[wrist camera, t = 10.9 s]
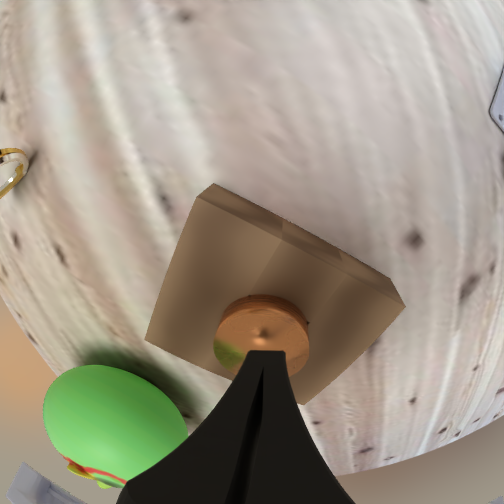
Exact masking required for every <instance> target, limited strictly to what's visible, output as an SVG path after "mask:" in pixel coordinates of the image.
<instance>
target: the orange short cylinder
mask: <svg viewBox="0 0 504 504" xmlns="http://www.w3.org/2000/svg"><path fill="white" fill-rule="evenodd" d="M213 350H214V353H215V356H216V358H217V360H218V361H219V362H220V364H221V365H222V366H223V367H225V368H226V369H227V370H228V371H230V372H231V373H233V374H235V375H237V373H238V371H239V369H240V368H241V366H242V364H243V362H244V360H245V357H246V355H247V353H248V351H250V350H278V351H284V352H286V365H287V371H288V375H289V377H290V376H292V375H294V374H295V373H297V372H298V371H299V370H301V369H302V368H303V366H304V365H305V364H306V362H307V360H308V357H309V336H308V324H307V320H306V318H305V316H304V314H303V313H302V311H301V310H300V309H299V308H298V307H297V306H296V305H294V304H293V303H291V302H290V301H288V300H286V299H283V298H281V297H278V296H274V295H267V294H255V295H248V296H245V297H242V298H240V299H237V300H236V301H234V302H232V303H231V304H230V305H229V306H228V307H227V308H226V309H225V311H224V312H223V314H222V316H221V319H220V322H219V325H218V328H217V331H216V334H215V337H214V341H213Z"/></svg>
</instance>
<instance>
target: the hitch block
mask: <svg viewBox="0 0 504 504" xmlns="http://www.w3.org/2000/svg"><path fill="white" fill-rule="evenodd" d="M255 294H267V295H274V296H278V297H281V298H283V299H286V300H288V301H290V302H291V303H293V304H294V305H296V306H297V307H298V308H299V309H300V310H301V311H302V313H303V314H304V316H305V318H306V320H307V324H308V336H309V357H308V360H307V362H306V364H305V365H304V366H303V368H302V369H301V370H299V371H298V372H297V373H295V374H294V375H292V376H290V377H289V380H290V383H291V387H292V390H293V393H294V396H295V400H296V402H297V403H298V404H301V405H305V404H306V403H307V402H308V401H310V400H311V399H312V398H313V397H315V396H316V395H317V394H318V393H319V392H321V391H322V390H323V389H324V388H325V387H326V386H328V385H329V384H330V383H331V382H332V381H333V380H334V379H336V378H337V377H338V376H339V375H340V374H341V373H342V372H343V371H344V370H346V369H347V368H348V367H349V366H350V365H351V364H352V363H353V362H354V361H355V360H356V359H357V358H358V357H359V356H360V355H361V354H362V353H363V352H364V351H365V350H366V349H367V348H368V347H369V346H370V345H371V344H372V343H373V342H374V341H375V340H376V339H377V338H378V337H379V336H380V335H381V334H382V333H383V332H384V331H385V330H386V328H387V327H388V326H389V325H390V324H391V323H392V322H393V321H394V320H395V319H396V317H397V316H398V315H399V314H400V313H401V312H402V311H403V309H404V308H405V307H406V306H405V305H404V303H403V301H402V299H401V297H400V295H399V294H398V292H397V290H396V288H395V286H394V285H393V283H392V281H391V279H390V278H388V277H386V276H385V275H383V274H381V273H380V272H378V271H376V270H375V269H373V268H371V267H370V266H368V265H366V264H364V263H363V262H361V261H359V260H357V259H356V258H354V257H352V256H350V255H349V254H347V253H345V252H343V251H342V250H340V249H338V248H336V247H335V246H333V245H331V244H329V243H327V242H326V241H324V240H322V239H320V238H318V237H317V236H315V235H313V234H311V233H309V232H307V231H306V230H304V229H302V228H300V227H298V226H296V225H294V224H293V223H291V222H289V221H287V220H285V219H283V218H281V217H279V216H277V215H275V214H274V213H272V212H270V211H268V210H266V209H264V208H262V207H260V206H258V205H256V204H254V203H252V202H250V201H248V200H246V199H244V198H242V197H240V196H238V195H236V194H234V193H232V192H230V191H228V190H226V189H224V188H222V187H220V186H218V185H216V184H214V183H213V184H212V185H211V186H209V187H208V188H207V189H206V190H204V191H203V192H202V193H201V194H199V195H198V196H197V197H196V199H195V202H194V204H193V206H192V209H191V211H190V214H189V216H188V219H187V221H186V224H185V226H184V229H183V231H182V234H181V236H180V239H179V241H178V244H177V246H176V249H175V252H174V254H173V257H172V260H171V262H170V265H169V268H168V271H167V273H166V276H165V279H164V282H163V285H162V287H161V290H160V293H159V296H158V299H157V302H156V305H155V308H154V311H153V314H152V317H151V320H150V324H149V327H148V330H147V333H146V336H145V340H146V341H148V342H150V343H151V344H153V345H155V346H157V347H159V348H161V349H163V350H165V351H167V352H169V353H171V354H173V355H175V356H177V357H179V358H181V359H184V360H186V361H188V362H190V363H192V364H194V365H197V366H199V367H201V368H203V369H206V370H208V371H210V372H213V373H215V374H217V375H220V376H222V377H225V378H227V379H229V380H232V381H233V380H234V378H235V377H236V375H235V374H233V373H231V372H230V371H228V370H227V369H226V368H225V367H223V366H222V365H221V364H220V362H219V361H218V360H217V358H216V356H215V353H214V350H213V341H214V337H215V334H216V331H217V328H218V325H219V322H220V319H221V316H222V314H223V312H224V311H225V309H226V308H227V307H228V306H229V305H230V304H231V303H232V302H234V301H236V300H237V299H240V298H242V297H245V296H248V295H255Z"/></svg>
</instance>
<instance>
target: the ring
mask: <svg viewBox="0 0 504 504" xmlns="http://www.w3.org/2000/svg"><path fill="white" fill-rule="evenodd" d="M14 161H18V162H21V163H20V166H18V167H17V168H16V169H15V171H16V172H15V173H14V175H13V176H12V177H11V178H10V179H9V180H8V181H7V182H6V183H5V184H4V185H2V186H1V187H0V199H1V198H2V197H3V196H4V195H5V194H6V193H8V192H9V191H10V190H11V189H12V188H13V187H14V186H15V185H16V184H17V183H18V182H19V180H20V179H21V178H22V177H23V176H25V175H26V173H27V169H28V166H29V162H28V159H27V156H26V154H25V152H24V151H22V150H20V149H17V148H6V149H1V150H0V166H2V165H4V164H7V163H9V162H14Z"/></svg>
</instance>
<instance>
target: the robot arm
mask: <svg viewBox="0 0 504 504" xmlns="http://www.w3.org/2000/svg"><path fill="white" fill-rule="evenodd" d="M490 114H491V116H492V118H493V119H494V120H495V122H496V123H497V124H498V125H499V127H500V128H501V129H502V130H503V132H504V69H503V73H502V76H501V79H500V83H499V86H498V89H497V92H496V95H495V97H494V100H493V103H492V106H491V108H490ZM499 117H500V120H499ZM6 497H7V499H9V500H10V501H11V502H12V503H13V504H87V503H85V502H83V501H81V500H80V499H78V498H76V497H75V496H73V495H71V494H70V493H69V492H68V491H66V490H64V489H63V488H61V487H60V486H58V485H56V484H55V483H53V482H52V481H50V480H49V479H47V478H45V477H44V476H42V475H41V474H40V473H38V472H37V471H36V470H34V469H33V468H31V467H30V466H29V465H27V464H26V463H25V462H22V464H21V466H20V468H19V470H18V472H17V473H16V475H15V477H14V479H13V481H12V483H11V485H10V487H9V489H8V492H7V494H6ZM116 504H355V503H354V501H353V500H352V499H351V498H350V497H349V495H348V494H347V493H346V492H345V491H344V489H343V488H342V486H341V485H340V484H339V483H338V481H337V479H336V478H335V476H334V475H333V474H332V472H331V470H330V469H329V467H328V466H327V464H326V462H325V461H324V459H323V458H322V456H321V454H320V453H319V451H318V449H317V447H316V445H315V443H314V441H313V440H312V438H311V436H310V433H309V431H308V429H307V427H306V425H305V423H304V420H303V418H302V415H301V413H300V410H299V408H298V405H297V402H296V400H295V396H294V393H293V390H292V387H291V383H290V380H289V375H288V371H287V365H286V352H284V351H278V350H250V351H248V353H247V355H246V357H245V360H244V362H243V364H242V366H241V368H240V369H239V371H238V373H237V375H236V377H235V378H234V380H233V381H232V383H231V385H230V386H229V388H228V389H227V391H226V392H225V394H224V395H223V397H222V398H221V400H220V401H219V402H218V404H217V405H216V406H215V408H214V409H213V410H212V411H211V413H210V414H209V415H208V416H207V418H206V419H205V420H204V421H203V422H202V423H201V424H200V425H199V427H198V428H197V429H196V430H195V431H194V432H193V433H192V434H191V435H190V436H189V437H188V438H187V439H186V440H184V441H183V442H182V443H181V444H180V445H179V446H178V447H177V448H176V449H174V450H173V451H172V452H171V453H169V454H168V455H167V456H165V457H164V458H163V459H161V460H160V461H159V462H157V463H156V464H155V465H153V466H152V467H150V468H149V469H147V470H145V471H144V472H142V473H140V474H139V475H137V476H135V477H134V478H132V479H130V480H128V481H127V482H126V484H125V486H124V487H123V489H122V491H121V493H120V495H119V498H118V500H117V503H116ZM487 504H504V501H503V496H500V497H498V498H496V499H494V500H493V501H491V502H489V503H487Z"/></svg>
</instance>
